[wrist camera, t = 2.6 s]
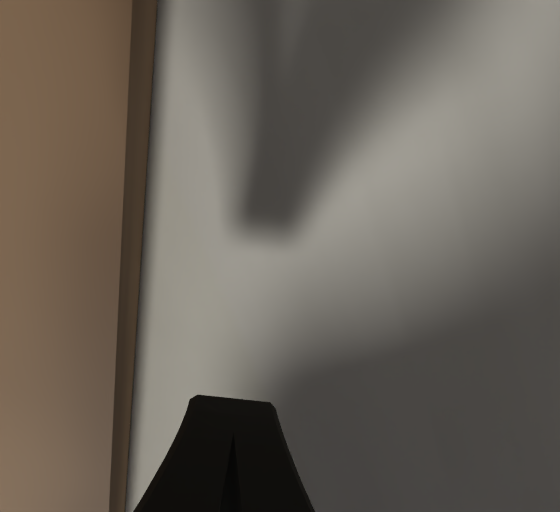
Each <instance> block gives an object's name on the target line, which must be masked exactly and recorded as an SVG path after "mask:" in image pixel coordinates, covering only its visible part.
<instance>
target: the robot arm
mask: <svg viewBox="0 0 560 512" xmlns="http://www.w3.org/2000/svg"><path fill="white" fill-rule="evenodd" d="M133 512H315V511H314V509H313V506H312V504H311V502H310V500H309V498H308V495H307V493H306V491H305V489H304V487H303V484H302V482H301V479H300V477H299V475H298V472H297V470H296V467H295V465H294V462H293V459H292V457H291V454H290V452H289V449H288V446H287V444H286V441H285V438H284V435H283V432H282V429H281V426H280V423H279V419H278V416H277V412H276V409H275V407H274V406H273V405H272V404H271V403H270V402H261V401H252V400H243V399H233V398H224V397H214V396H205V395H196V396H195V397H193V398H191V399H190V401H189V404H188V408H187V411H186V414H185V416H184V419H183V421H182V424H181V426H180V428H179V431H178V433H177V435H176V437H175V439H174V441H173V443H172V445H171V447H170V449H169V451H168V453H167V455H166V457H165V459H164V461H163V462H162V464H161V466H160V467H159V469H158V471H157V473H156V474H155V476H154V478H153V480H152V481H151V483H150V485H149V487H148V488H147V490H146V492H145V494H144V495H143V497H142V499H141V500H140V502H139V504H138V505H137V507H136V508H135V510H134V511H133Z"/></svg>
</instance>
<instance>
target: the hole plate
mask: <svg viewBox="0 0 560 512" xmlns="http://www.w3.org/2000/svg"><path fill="white" fill-rule="evenodd" d="M157 1H158V0H0V512H125V499H126V483H127V468H128V452H129V437H130V421H131V405H132V390H133V374H134V359H135V343H136V328H137V312H138V296H139V281H140V265H141V250H142V234H143V219H144V203H145V187H146V172H147V156H148V141H149V125H150V110H151V94H152V78H153V63H154V47H155V32H156V16H157Z"/></svg>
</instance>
